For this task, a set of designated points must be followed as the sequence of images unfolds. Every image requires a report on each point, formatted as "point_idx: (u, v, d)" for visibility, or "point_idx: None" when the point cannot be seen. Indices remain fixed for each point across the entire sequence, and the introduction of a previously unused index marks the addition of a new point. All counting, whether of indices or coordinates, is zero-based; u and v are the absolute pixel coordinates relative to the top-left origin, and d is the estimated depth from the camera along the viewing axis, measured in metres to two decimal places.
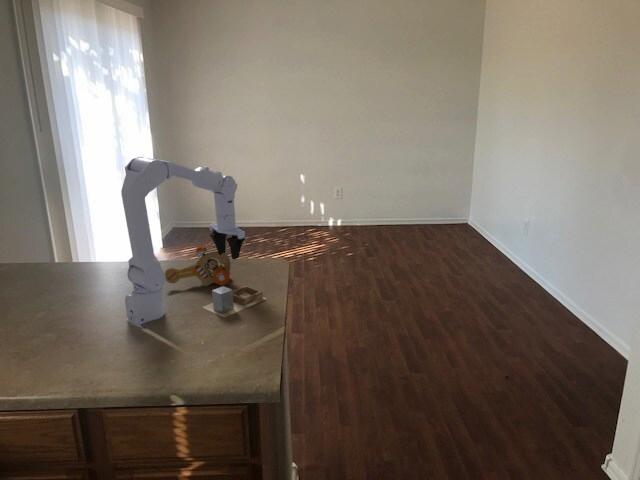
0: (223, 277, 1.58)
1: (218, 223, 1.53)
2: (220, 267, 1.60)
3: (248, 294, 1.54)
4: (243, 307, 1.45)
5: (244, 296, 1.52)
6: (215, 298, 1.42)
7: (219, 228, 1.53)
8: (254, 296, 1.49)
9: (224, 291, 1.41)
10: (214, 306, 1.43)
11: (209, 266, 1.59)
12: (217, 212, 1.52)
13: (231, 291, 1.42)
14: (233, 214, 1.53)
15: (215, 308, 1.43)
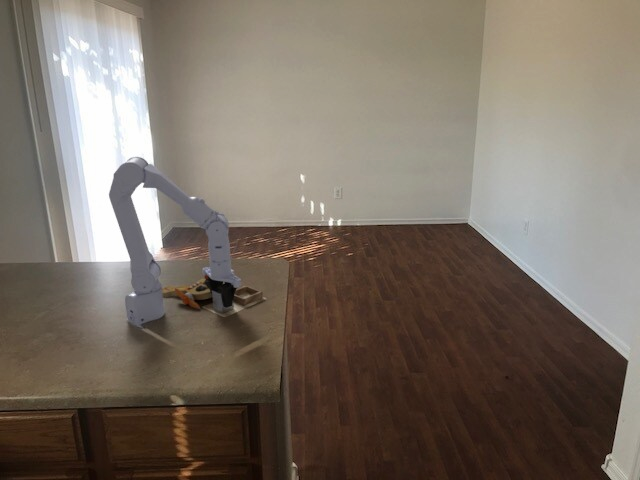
0: None
1: (212, 269, 1.38)
2: None
3: (248, 294, 1.54)
4: (243, 307, 1.45)
5: (244, 296, 1.52)
6: (215, 298, 1.42)
7: (213, 275, 1.38)
8: (254, 296, 1.49)
9: None
10: (214, 306, 1.43)
11: None
12: (209, 255, 1.39)
13: None
14: (228, 259, 1.38)
15: (215, 308, 1.43)
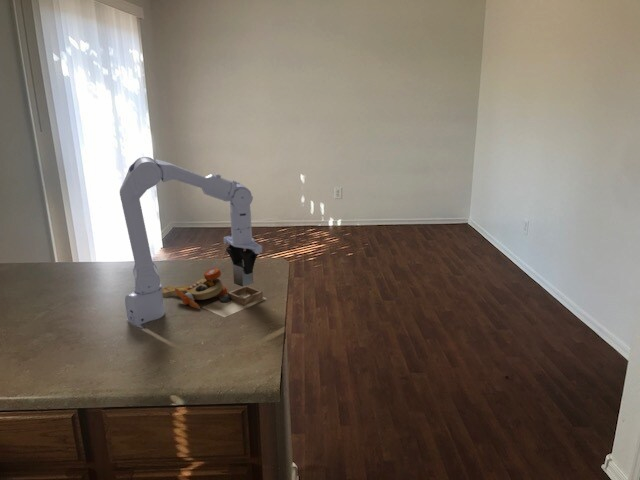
0: None
1: (233, 236, 1.43)
2: None
3: (248, 294, 1.54)
4: (243, 307, 1.45)
5: (244, 296, 1.52)
6: (236, 272, 1.47)
7: (234, 242, 1.43)
8: (254, 296, 1.49)
9: None
10: (235, 279, 1.48)
11: None
12: (231, 224, 1.43)
13: None
14: (250, 227, 1.43)
15: (236, 281, 1.48)
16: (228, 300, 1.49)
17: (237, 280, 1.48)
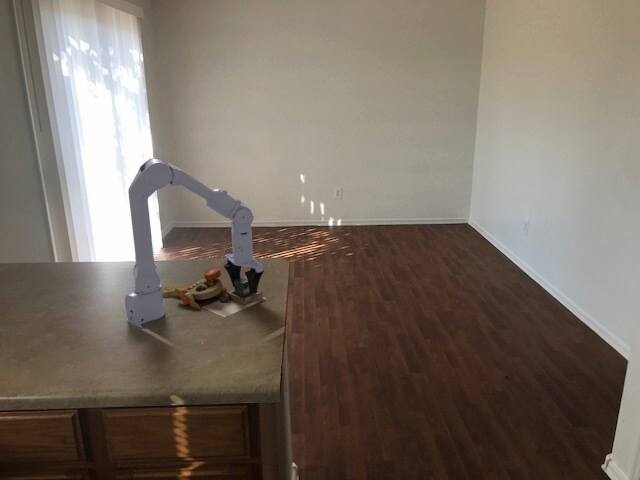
0: None
1: (235, 255, 1.45)
2: None
3: None
4: (243, 307, 1.45)
5: None
6: (237, 288, 1.49)
7: (236, 260, 1.45)
8: (254, 296, 1.49)
9: (246, 280, 1.48)
10: None
11: None
12: (232, 242, 1.45)
13: None
14: (251, 246, 1.45)
15: None
16: (228, 300, 1.49)
17: None
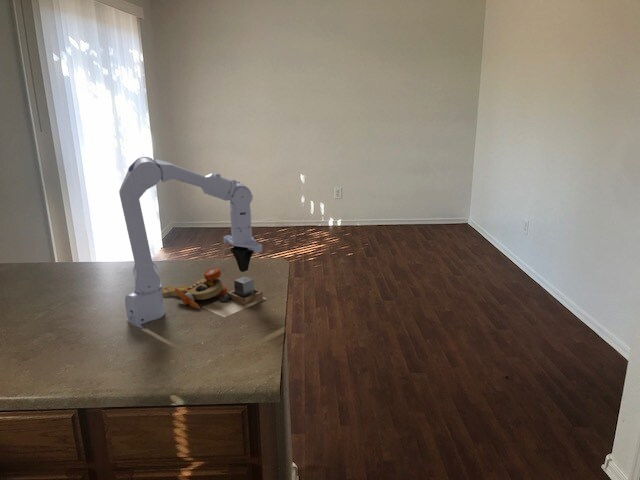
0: None
1: (233, 236, 1.43)
2: None
3: None
4: (243, 307, 1.45)
5: None
6: (237, 288, 1.49)
7: (234, 241, 1.43)
8: (254, 296, 1.49)
9: (246, 280, 1.48)
10: None
11: None
12: (231, 223, 1.43)
13: (252, 281, 1.49)
14: (250, 226, 1.43)
15: None
16: (228, 300, 1.49)
17: None
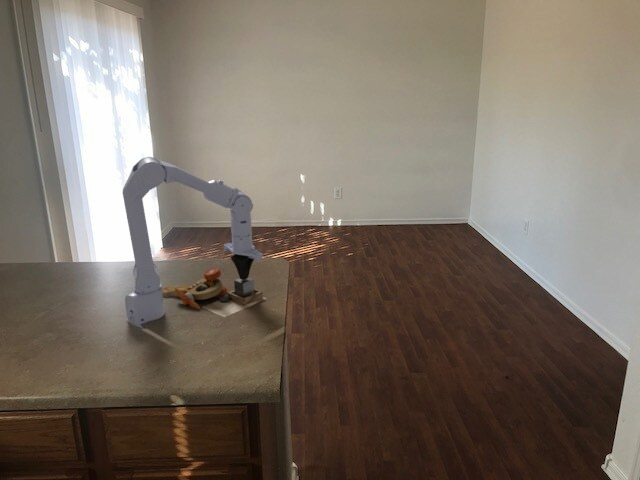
0: None
1: (234, 244, 1.44)
2: None
3: None
4: (243, 307, 1.45)
5: None
6: (237, 288, 1.49)
7: (235, 249, 1.44)
8: (254, 296, 1.49)
9: (246, 280, 1.48)
10: None
11: None
12: (231, 231, 1.44)
13: (252, 281, 1.49)
14: (250, 234, 1.44)
15: None
16: (228, 300, 1.49)
17: None
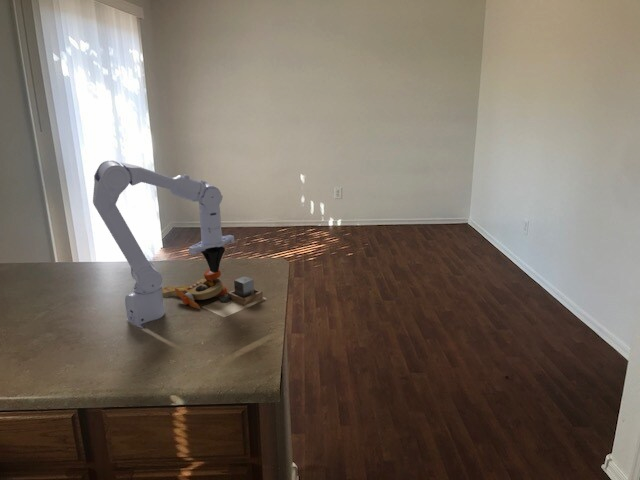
0: None
1: None
2: None
3: None
4: (243, 307, 1.45)
5: None
6: (237, 288, 1.49)
7: None
8: (254, 296, 1.49)
9: (246, 280, 1.48)
10: None
11: None
12: (200, 224, 1.42)
13: (252, 281, 1.49)
14: (205, 229, 1.41)
15: None
16: (228, 300, 1.49)
17: None
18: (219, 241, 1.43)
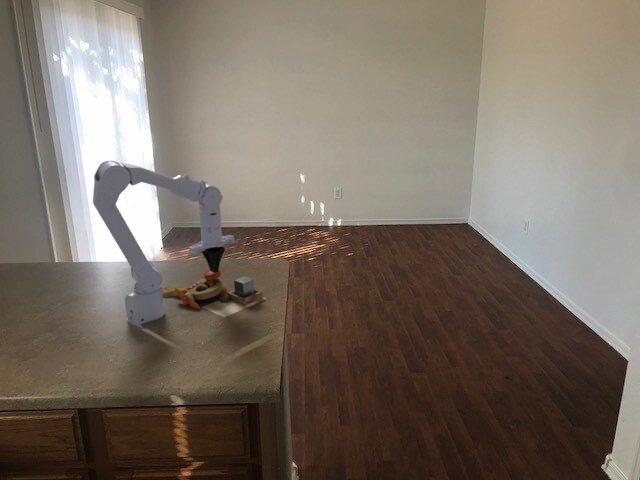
0: None
1: None
2: None
3: None
4: (243, 307, 1.45)
5: None
6: (237, 288, 1.49)
7: None
8: (254, 296, 1.49)
9: (246, 280, 1.48)
10: None
11: None
12: (200, 224, 1.42)
13: (252, 281, 1.49)
14: (205, 229, 1.41)
15: None
16: (228, 300, 1.49)
17: None
18: (219, 241, 1.43)
